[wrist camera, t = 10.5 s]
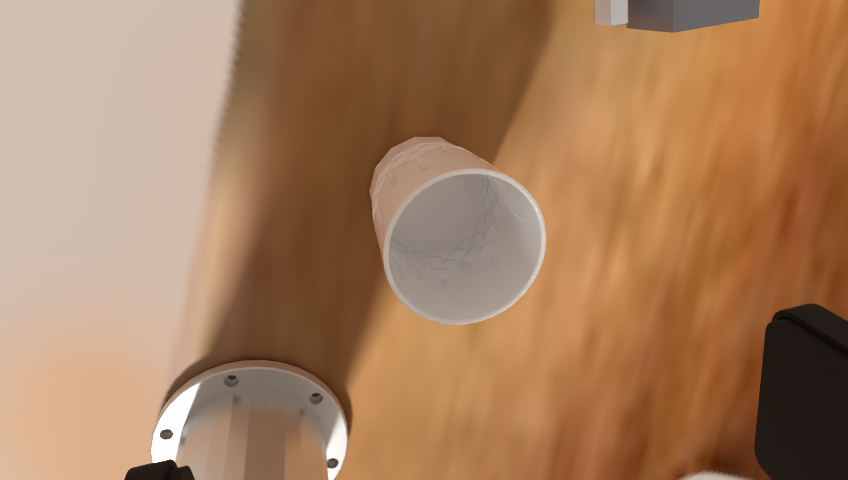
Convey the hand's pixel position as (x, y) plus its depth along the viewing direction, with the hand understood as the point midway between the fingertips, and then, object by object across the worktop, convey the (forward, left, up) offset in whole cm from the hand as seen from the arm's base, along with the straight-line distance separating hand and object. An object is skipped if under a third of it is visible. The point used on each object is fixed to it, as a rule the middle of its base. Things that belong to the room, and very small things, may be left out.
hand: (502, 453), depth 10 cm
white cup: (-5, -4, -29) cm, 29 cm away
